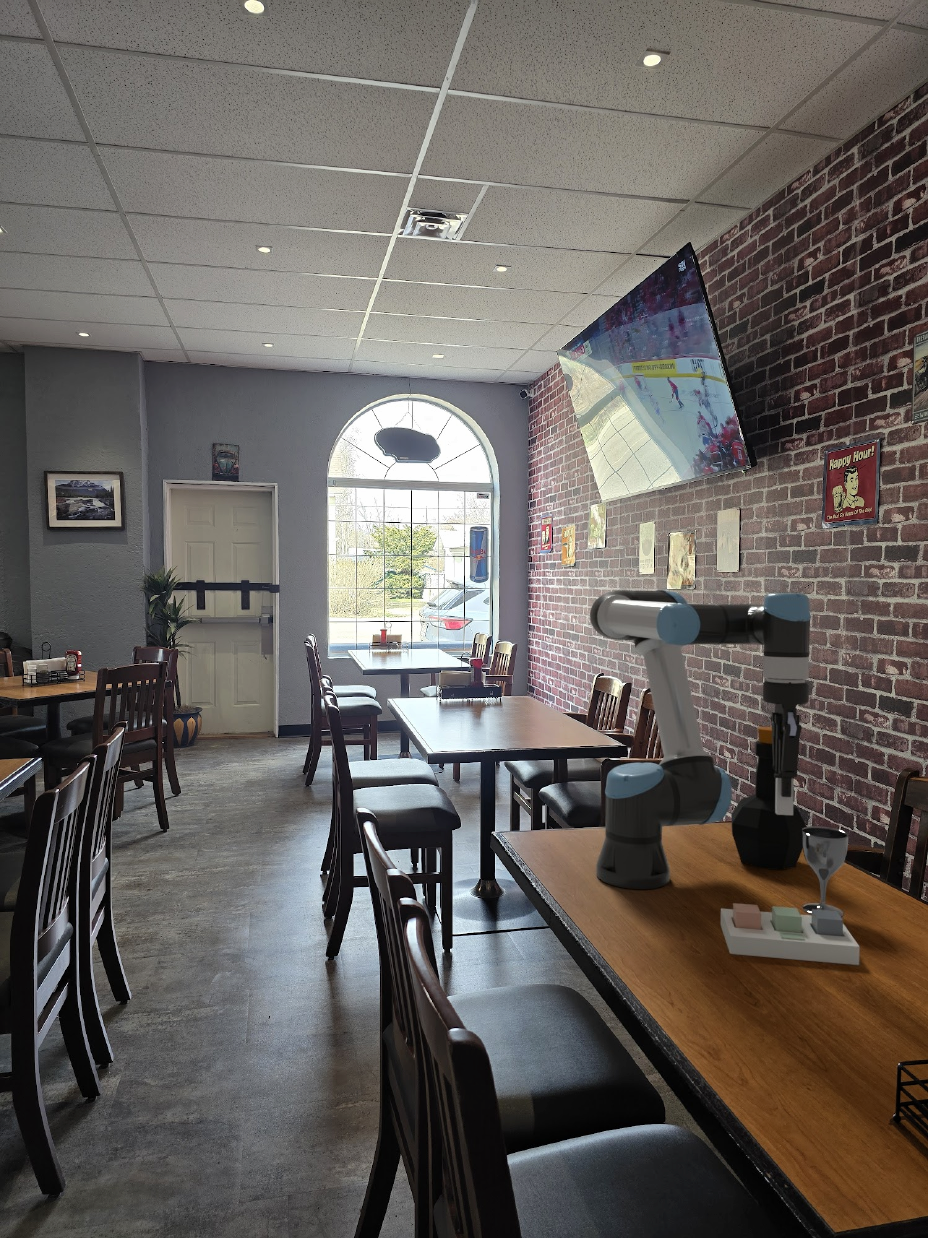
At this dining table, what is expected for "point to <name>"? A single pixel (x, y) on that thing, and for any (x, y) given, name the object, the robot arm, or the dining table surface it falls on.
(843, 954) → the button board
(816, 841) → the silver goblet
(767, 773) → the bottle
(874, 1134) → the dining table surface
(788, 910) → the sage button
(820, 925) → the slate grey button
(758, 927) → the salmon pink button
